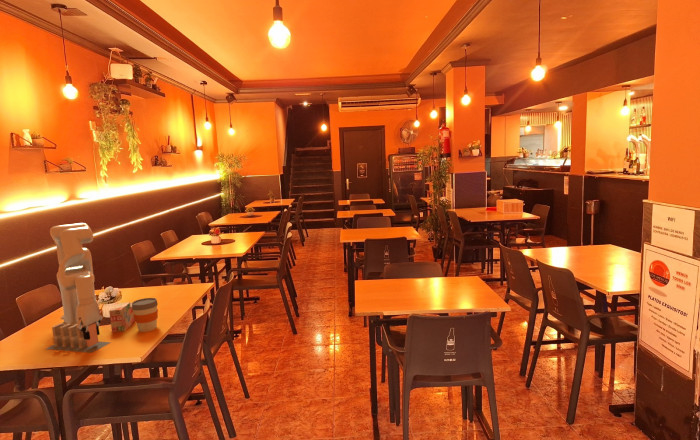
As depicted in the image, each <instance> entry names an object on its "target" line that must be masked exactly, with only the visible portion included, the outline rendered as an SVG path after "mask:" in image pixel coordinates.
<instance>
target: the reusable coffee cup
mask: <svg viewBox="0 0 700 440" xmlns="http://www.w3.org/2000/svg"><path fill="white" fill-rule="evenodd" d="M131 303H132V310H133V312H134V313H133V316H134V319H135V322H134V323H136V326H137V327H136V328H137V330H138V332H140V333H142V332H143V333H145V332H150V331H154V330H155V329H156V328H157V327H158V326H157V322H158V321H157V320H158V315H159V310H158V304H159V303H158V300H157V298H155V297H145V298H139V299H136V300H134V301H132V302H131Z"/></svg>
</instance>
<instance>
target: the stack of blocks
mask: <svg viewBox="0 0 700 440" xmlns="http://www.w3.org/2000/svg"><path fill="white" fill-rule="evenodd" d="M133 313H134V312H133V310H132V302H129V301H128V302H118V303H117V304H115V306H113V307H112V308H110V309H109V320H110V329H111V332H125V331H126V330H128V328H130V326H132V325H133V324H134V323H136V322H135V319H134V316H133Z"/></svg>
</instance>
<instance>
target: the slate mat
mask: <svg viewBox="0 0 700 440" xmlns="http://www.w3.org/2000/svg"><path fill="white" fill-rule="evenodd" d="M111 343H112V342H110V341H98V343H96V344H95V345H93V346H91V347H88V346H86V347H84V348H79V345H78V346H76V347H74V348H71V345H69V346H67V347H63V344H62V345H60V346H58V347H57V346H55V344H53V345H50V346H48V347H46V348H45V350H51V351H62V352H66V351H67V352H77V353H90V354H91V353H94V352H96V351H98V350H100V349H102V348H105V346H107V345H109V344H111Z"/></svg>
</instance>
